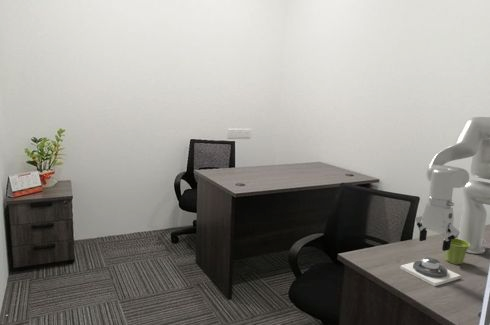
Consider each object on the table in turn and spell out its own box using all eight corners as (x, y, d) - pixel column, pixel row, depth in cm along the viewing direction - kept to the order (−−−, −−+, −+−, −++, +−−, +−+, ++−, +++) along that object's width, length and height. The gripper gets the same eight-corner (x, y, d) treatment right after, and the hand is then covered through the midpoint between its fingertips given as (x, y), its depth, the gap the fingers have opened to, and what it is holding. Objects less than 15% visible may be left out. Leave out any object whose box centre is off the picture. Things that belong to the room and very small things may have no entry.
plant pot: (441, 254, 159) (444, 235, 158) (466, 260, 155) (469, 240, 153) (440, 262, 151) (443, 242, 150) (467, 268, 147) (470, 248, 145)
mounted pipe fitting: (424, 261, 151) (425, 256, 151) (460, 278, 138) (461, 272, 138) (399, 268, 144) (400, 262, 144) (434, 286, 131) (435, 280, 131)
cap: (427, 265, 145) (429, 255, 144) (441, 272, 140) (443, 261, 139) (417, 268, 142) (419, 258, 142) (431, 275, 137) (433, 264, 136)
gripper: (468, 207, 130) (461, 252, 134) (425, 194, 145) (420, 235, 149) (455, 210, 127) (449, 256, 130) (412, 196, 142) (407, 238, 145)
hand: (433, 245), depth 139 cm, fingers open, 9 cm apart
